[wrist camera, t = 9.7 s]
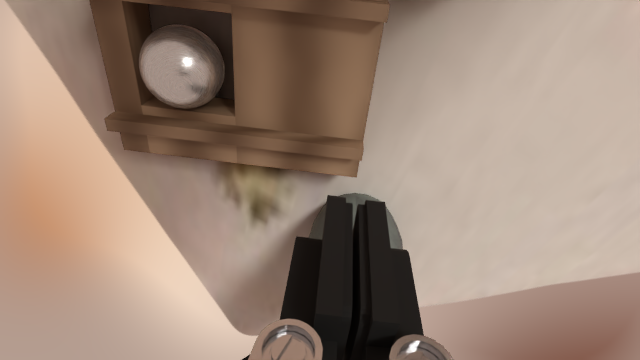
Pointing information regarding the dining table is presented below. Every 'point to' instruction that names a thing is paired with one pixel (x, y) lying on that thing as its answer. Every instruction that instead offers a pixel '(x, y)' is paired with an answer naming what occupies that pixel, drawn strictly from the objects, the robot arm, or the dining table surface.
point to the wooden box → (256, 83)
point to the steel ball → (181, 66)
